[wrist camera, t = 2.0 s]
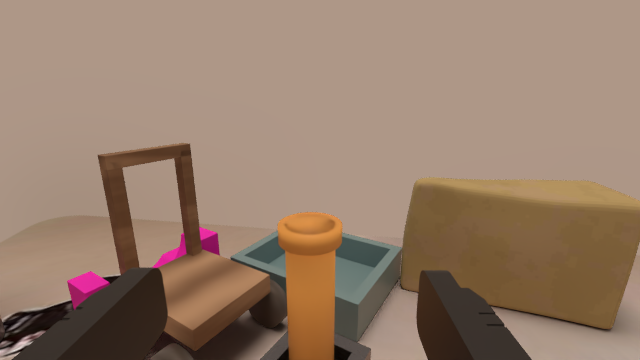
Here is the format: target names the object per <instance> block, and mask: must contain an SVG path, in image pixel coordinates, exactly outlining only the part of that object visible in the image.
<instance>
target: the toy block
mask: <svg viewBox="0 0 640 360" xmlns="http://www.w3.org/2000/svg"><path fill="white" fill-rule="evenodd" d="M199 229H200V238H201V247H202V249H203V250H206V251H208V252H211V253H214V254H216V255H219V256H220V254H219V244H218V234H217V233H216V232H213V231H210V230H207V229H204V228H201V227H199ZM185 254H187V253H186V246H185V238H184V233H183V234H181V243H180V247H178V248H176V249H174V250H172V251H169V252H167V253H165V254H163V255H162V257H161V258H160V259H159V261H158V262H157V263H156V264H155V265H154V266H153V267H152V268H158V267H160V266H162V265H164V264H166V263H168V262H170V261H172V260H174V259H177V258H179V257H181V256H183V255H185ZM67 283H68V287H69V291H70V295H71V299H72V303H73V307H74V310H75V309H76V307H77V306H78V305H79V304H80V303H82V302H83V301H84V300H85V299H87V298H88V297H89V296H90V295H91V294H93V293H95V292H97V291H99V290H101V289H103V288H105V287H106V286H108V285H110V283H109V282H108V281H106V280H104V279H103V278H101V277H99V276H98V275H96V274H95V273H93V272H91V271H90V272H88V273H85V274H83V275H80V276H78V277H76V278H73V279H71V280H68V281H67Z"/></svg>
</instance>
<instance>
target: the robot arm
mask: <svg viewBox="0 0 640 360" xmlns="http://www.w3.org/2000/svg"><path fill="white" fill-rule="evenodd" d="M167 318H168V309H167V303H166V297H165V290H164V284H163V277H162V273H161V271H160V269H158V268H130V269H129V270H127V271H126V272H125V273H124V274H122V275H121V276H120V277H119V278H118V279H116V280H115V281H114V282H113V283H112V284H110V285H108V286H106V287H105V288H103V289H101V290H99V291H97V292H95V293H93V294H91V295H90V296H89V297H88V298H87V299H85V300H84V301H83V302H82V303H80V304H79V305H78V306H77V307H76V309H75V310H72V311H71V312H69V313H68V314H67V315H66V316H64V317H63V320H62V321H58V322H57V323H56V324H55V325H53V326H52V327H51V328H50V329H48V330H47V331H46V332H45V333H44V334H42V335H41V336H40V337H39V338H37V339H36V340H35V341H34V342H33V343H31V344H30V345H29V346H28V347H26V348H25V349H24V350H23V351H22V352H20V353H19V354H18V355H17V356H15V357H14V358H13V359H12V360H143V359H144V358H145V357H146V355H147V354H148V352H149V351H150V350H151V348H152V347H153V345H154V344H155V343H156V341H157V340H158V338H159V337H160V336H161V334H162V333H163V331H164V329H165V326H166V323H167ZM417 328H418V333H419V337H420V340H421V342H422V345H423V348H424V350H425V353H426V356H427V358H428V360H532V359H531V358H530V357H529V356H528V354H527V353H526V352H525V350H524V349H523V348H522V347H521V345H520V344H519V343H518V341H517V340H516V339H515V338H514V336H513V335H512V334H511V332H510V331H509V330H508V329H507V327H504V323H503V322H502V321H501V320H500V318H499V317H498V316H497V315H495V312H494V311H493V309H492V308H491V307H490V305H489V304H488V303H487V302H486V300H485V299H484V298H482V297H481V296H479V295H478V294H477V293H475V292H474V291H472V290H471V289H469V288H461V287H460V286H459V285H458V283H457V282H456V280H455V279H454V277H453V276H452V275H451V273H450V272H449V271H447V270H422V271H421V273H420V278H419V291H418V303H417ZM4 334H5V329H4V325H3V322H2V319H1V316H0V341H1V340H2V339H3V336H4Z"/></svg>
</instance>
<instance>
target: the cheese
mask: <svg viewBox="0 0 640 360" xmlns="http://www.w3.org/2000/svg"><path fill="white" fill-rule="evenodd" d="M639 242H640V201H639V200H637V199H635V198H632V197H630V196H628V195H625V194H622V193H620V192H618V191H615V190H612V189H610V188H607V187H605V186H602V185H600V184H597V183H594V182H590V181H558V180H471V179H469V180H468V179H449V178H434V177H433V178H422V179H419V180H417V181H416V182H415V184H414V187H413V192H412V197H411V202H410V206H409V211H408V215H407V221H406V225H405V231H404V238H403V248H402V262H401V276H400V282H401V286H402V287H403V288H404V289H406V290H410V291H415V292H418V291H419V278H420V273H421V271H422V270H447V271H449V272H450V273H451V275H452V276H453V277H454V279H455V280H456V282H457V283H458V285H459V286H460V287H461V288H469V289H471V290H472V291H474V292H475V293H477V294H478V295H479V296H481V297H482V298H484V299H485V300H486V302H487V303H488V304H489V305H493V306H498V307H503V308H509V309H514V310H519V311H524V312H529V313H534V314H539V315H544V316H549V317H553V318H558V319H563V320H567V321H572V322H576V323H581V324H585V325H589V326H594V327H598V328H603V329H611V328H612V326H613V324H614V321H615V318H616V315H617V312H618V309H619V306H620V303H621V300H622V297H623V294H624V291H625V288H626V285H627V282H628V279H629V276H630V273H631V269H632V266H633V263H634V259H635V256H636V253H637V249H638V245H639Z"/></svg>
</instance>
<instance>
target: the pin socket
mask: <svg viewBox="0 0 640 360" xmlns="http://www.w3.org/2000/svg"><path fill="white" fill-rule="evenodd" d="M370 357H371V349H370V348H368V347H366V346H363V345H361V344H359V343H357V342H354V341H352V340H350V339H348V338H345V337H343V336H341V335H339V334H336V333H334V360H370ZM260 360H289V345H288V331H287V332H286V333H285V334H284V335H283V336H282V337H281V338H280V340H279V341H278V342H277V343H276V344H275V345H274V346H273V347H272V348H271V349H270V350H269V351H268V352H267V353H266V354H265V355H264V356H263V357H262V358H261V359H260Z"/></svg>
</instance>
